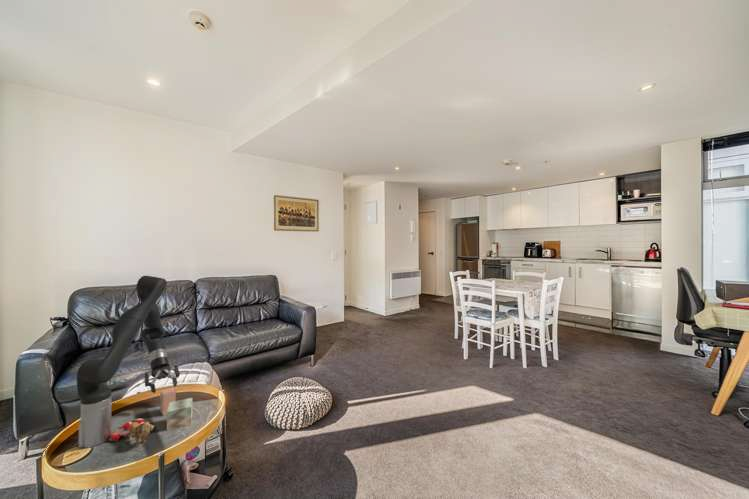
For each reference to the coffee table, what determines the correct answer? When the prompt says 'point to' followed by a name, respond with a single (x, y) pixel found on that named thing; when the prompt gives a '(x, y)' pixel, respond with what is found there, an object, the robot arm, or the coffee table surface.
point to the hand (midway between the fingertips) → (165, 389)
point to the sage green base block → (179, 413)
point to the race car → (124, 430)
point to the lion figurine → (139, 431)
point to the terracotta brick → (166, 399)
